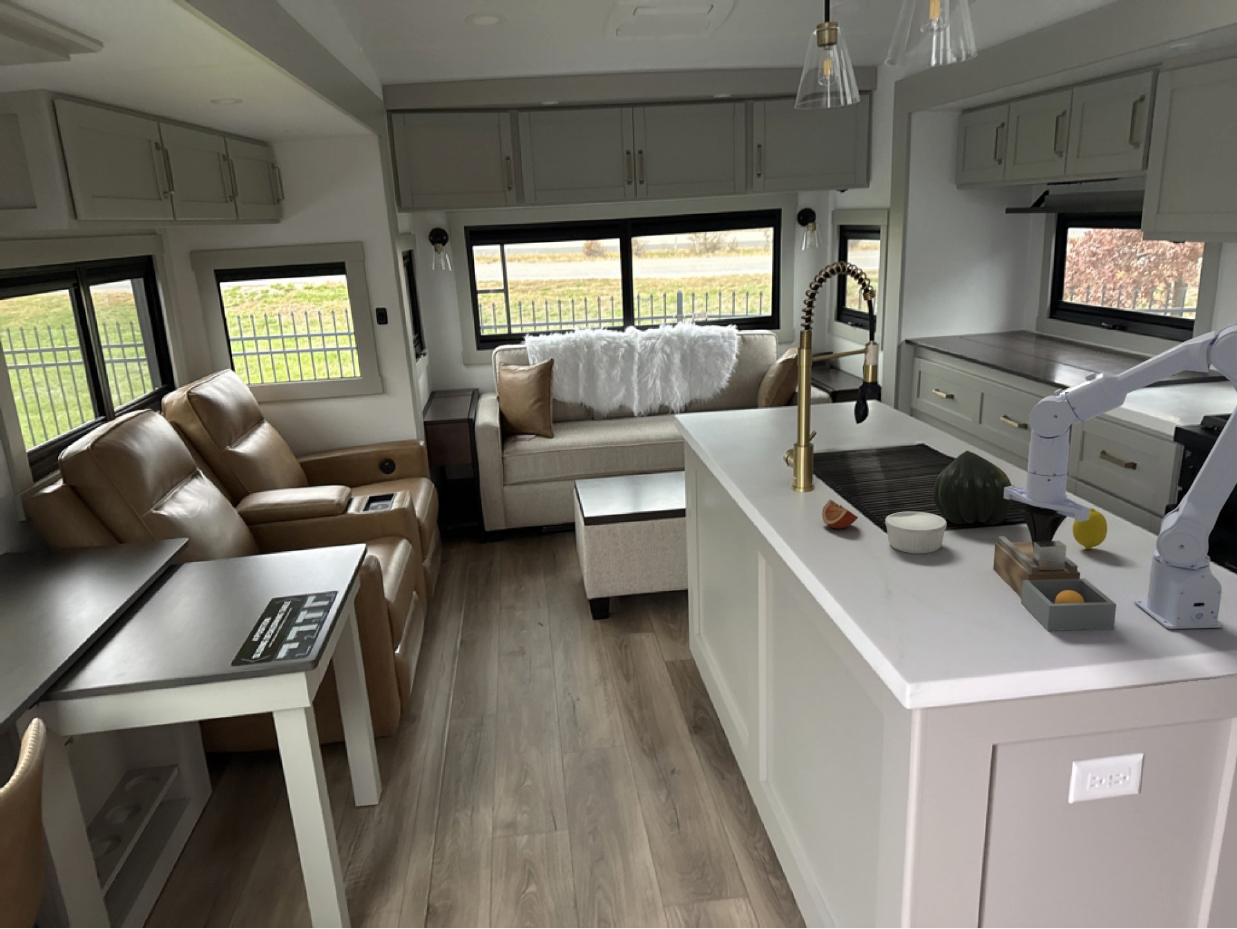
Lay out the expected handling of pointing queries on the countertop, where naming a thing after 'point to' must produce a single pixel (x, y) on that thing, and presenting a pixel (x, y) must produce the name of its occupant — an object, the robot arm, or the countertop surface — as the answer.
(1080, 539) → the lemon
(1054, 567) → the plunger
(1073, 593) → the ball
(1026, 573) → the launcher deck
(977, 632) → the countertop surface
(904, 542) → the ramekin
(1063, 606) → the grey open tray
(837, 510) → the fruit slice
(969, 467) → the squash
